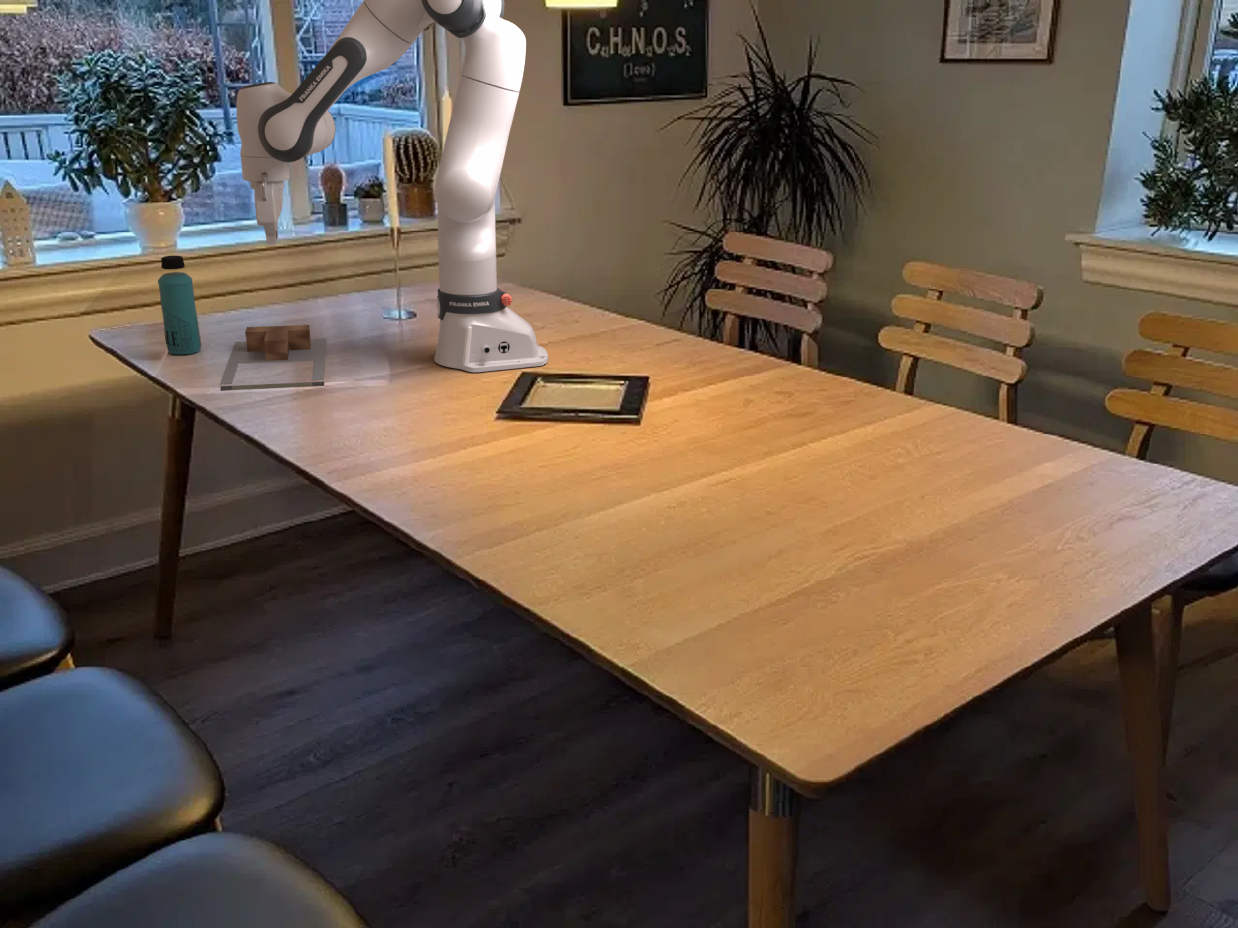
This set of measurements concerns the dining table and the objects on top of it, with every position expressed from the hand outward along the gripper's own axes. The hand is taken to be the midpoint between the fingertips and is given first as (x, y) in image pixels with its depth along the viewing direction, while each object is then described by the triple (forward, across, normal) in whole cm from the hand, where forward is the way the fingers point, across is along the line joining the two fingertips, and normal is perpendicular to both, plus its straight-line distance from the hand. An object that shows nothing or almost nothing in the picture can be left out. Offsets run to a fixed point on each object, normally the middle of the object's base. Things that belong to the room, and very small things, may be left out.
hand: (272, 241), depth 221 cm
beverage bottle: (+21, -7, +18) cm, 29 cm away
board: (+21, -16, 0) cm, 26 cm away
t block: (+20, -10, 0) cm, 23 cm away
